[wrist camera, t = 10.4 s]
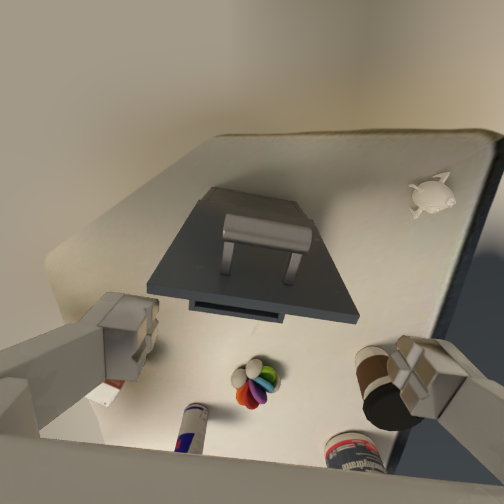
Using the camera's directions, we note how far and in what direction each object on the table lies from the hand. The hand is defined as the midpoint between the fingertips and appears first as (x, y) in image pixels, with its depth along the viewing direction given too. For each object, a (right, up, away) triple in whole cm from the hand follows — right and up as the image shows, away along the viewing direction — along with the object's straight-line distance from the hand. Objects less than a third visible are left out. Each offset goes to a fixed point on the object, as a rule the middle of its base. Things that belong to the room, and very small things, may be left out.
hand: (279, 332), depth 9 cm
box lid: (-1, +3, +15) cm, 15 cm away
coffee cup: (+24, -19, +46) cm, 55 cm away
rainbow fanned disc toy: (0, -23, +48) cm, 53 cm away
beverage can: (-14, -34, +52) cm, 64 cm away
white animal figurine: (+25, +12, +33) cm, 43 cm away
